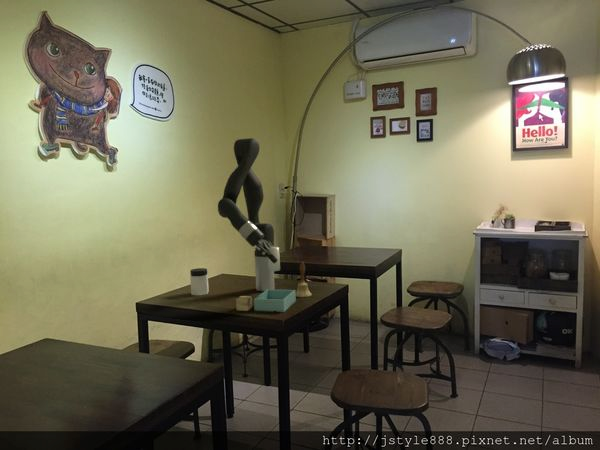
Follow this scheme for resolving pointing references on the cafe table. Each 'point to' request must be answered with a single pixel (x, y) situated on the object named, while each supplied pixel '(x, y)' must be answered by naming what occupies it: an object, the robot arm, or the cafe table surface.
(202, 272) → the jar
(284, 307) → the tote
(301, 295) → the hand bell
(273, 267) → the cylinder
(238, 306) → the cube
